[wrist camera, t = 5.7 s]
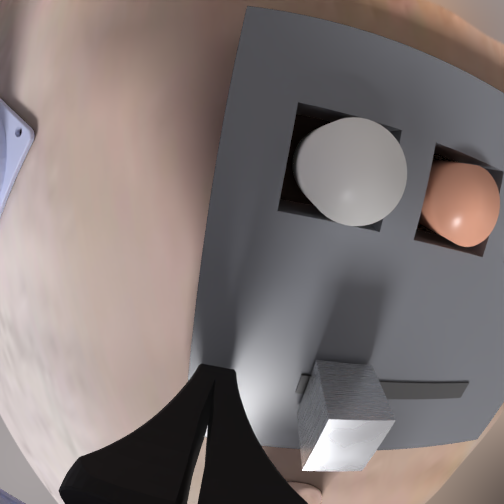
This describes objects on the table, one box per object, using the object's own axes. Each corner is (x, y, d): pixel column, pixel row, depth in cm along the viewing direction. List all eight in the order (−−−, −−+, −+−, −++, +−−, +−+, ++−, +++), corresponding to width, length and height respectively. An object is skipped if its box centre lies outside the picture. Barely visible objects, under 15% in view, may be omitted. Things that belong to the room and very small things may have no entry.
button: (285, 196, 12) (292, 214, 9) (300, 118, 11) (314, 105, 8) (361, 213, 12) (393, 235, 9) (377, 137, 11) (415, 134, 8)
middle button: (394, 217, 13) (429, 237, 10) (409, 150, 12) (449, 153, 9) (447, 231, 13) (487, 253, 10) (461, 169, 12) (506, 178, 9)
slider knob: (296, 412, 13) (302, 470, 10) (316, 359, 12) (328, 418, 9) (347, 416, 13) (361, 470, 10) (372, 365, 12) (395, 420, 9)
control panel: (194, 394, 17) (183, 433, 14) (250, 34, 11) (246, 4, 8) (460, 411, 17) (477, 440, 14) (555, 152, 12) (590, 158, 9)
